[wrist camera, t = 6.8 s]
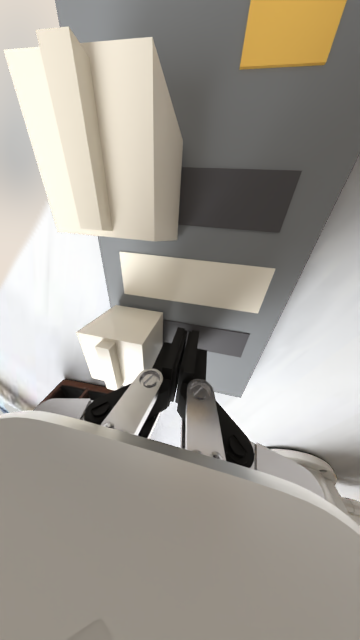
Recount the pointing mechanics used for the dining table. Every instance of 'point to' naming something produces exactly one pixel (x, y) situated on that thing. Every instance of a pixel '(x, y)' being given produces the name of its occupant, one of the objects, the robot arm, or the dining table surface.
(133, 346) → the switch tab
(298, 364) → the dining table surface
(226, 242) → the switch panel
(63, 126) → the switch tab
